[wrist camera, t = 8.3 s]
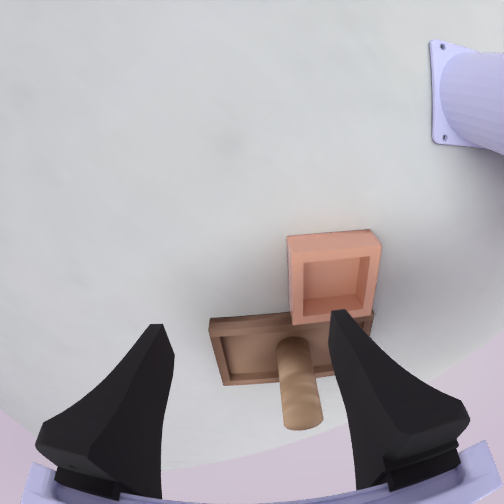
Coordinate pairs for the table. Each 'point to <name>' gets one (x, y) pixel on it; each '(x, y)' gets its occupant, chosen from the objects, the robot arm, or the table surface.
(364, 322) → the tray
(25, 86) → the table surface
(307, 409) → the dowel
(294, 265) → the open box
